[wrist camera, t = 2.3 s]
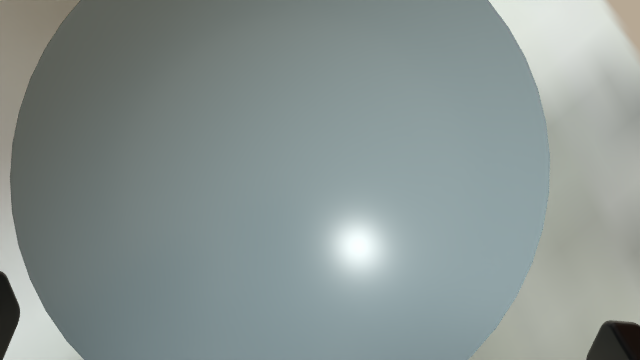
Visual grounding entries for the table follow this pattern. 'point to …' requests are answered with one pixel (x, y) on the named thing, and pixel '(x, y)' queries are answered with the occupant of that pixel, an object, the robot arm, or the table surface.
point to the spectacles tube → (279, 178)
